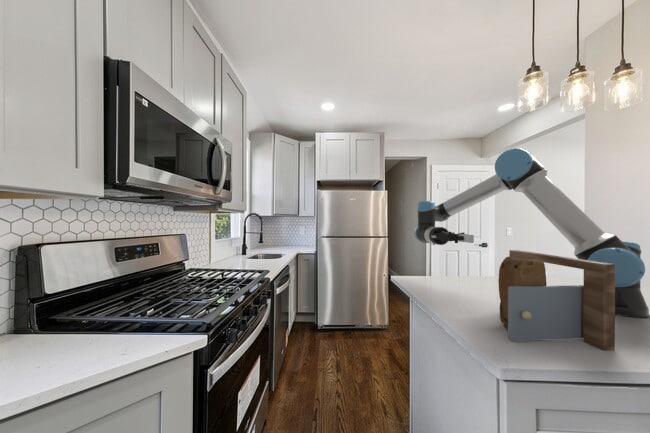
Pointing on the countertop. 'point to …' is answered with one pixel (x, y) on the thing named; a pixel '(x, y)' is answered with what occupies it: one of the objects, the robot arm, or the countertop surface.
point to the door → (545, 312)
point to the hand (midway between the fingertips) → (471, 238)
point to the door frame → (590, 297)
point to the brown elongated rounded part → (518, 278)
